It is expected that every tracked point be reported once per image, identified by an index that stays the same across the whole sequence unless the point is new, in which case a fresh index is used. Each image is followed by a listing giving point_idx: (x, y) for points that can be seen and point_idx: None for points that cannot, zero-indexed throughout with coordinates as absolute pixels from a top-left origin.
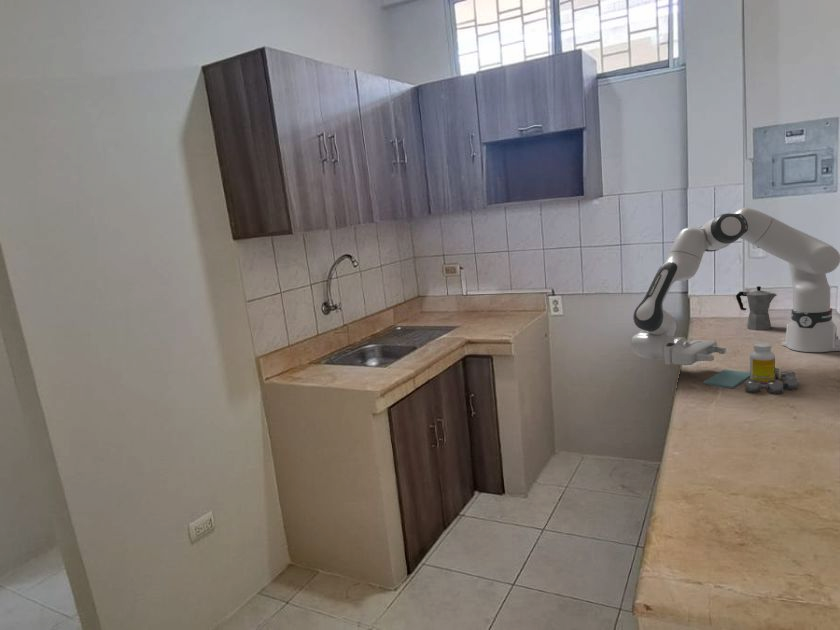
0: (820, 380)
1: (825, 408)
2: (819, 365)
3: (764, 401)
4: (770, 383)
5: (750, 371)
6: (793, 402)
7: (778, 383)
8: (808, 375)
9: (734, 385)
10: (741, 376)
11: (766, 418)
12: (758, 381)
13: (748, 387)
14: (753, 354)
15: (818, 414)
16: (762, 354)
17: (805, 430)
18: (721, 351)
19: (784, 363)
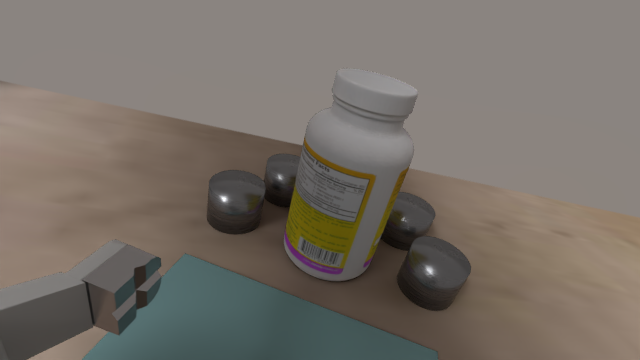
0: (253, 146)
1: (459, 184)
2: (95, 115)
3: (505, 269)
4: (429, 216)
5: (357, 237)
6: (461, 216)
7: (416, 201)
8: (203, 150)
9: (415, 344)
10: (247, 304)
11: (631, 282)
12: (427, 240)
13: (461, 286)
14: (401, 148)
15: (504, 199)
16: (403, 128)
17: (612, 231)
18: (135, 294)
19: (20, 156)
